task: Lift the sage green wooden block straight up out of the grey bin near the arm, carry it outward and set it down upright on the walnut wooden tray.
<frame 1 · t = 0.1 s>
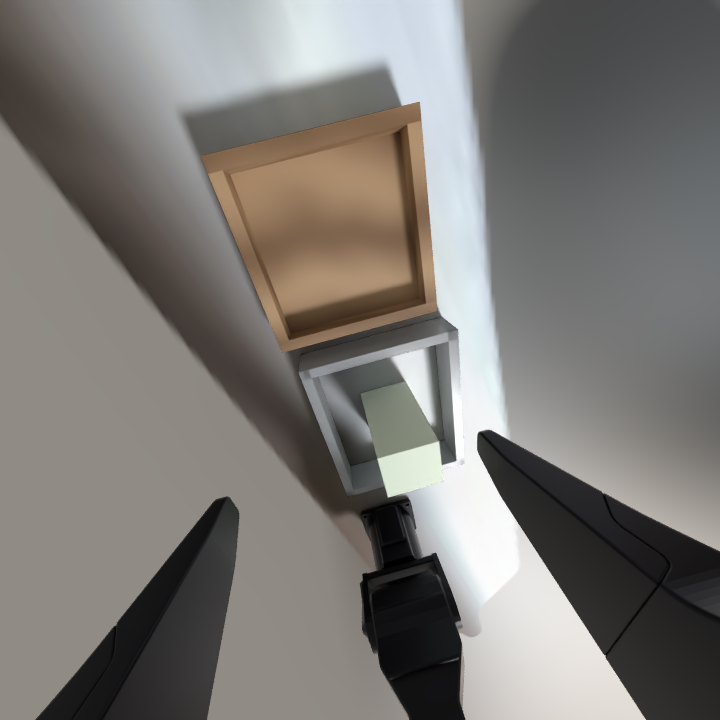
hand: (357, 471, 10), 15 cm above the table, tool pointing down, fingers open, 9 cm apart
sage block: (397, 433, 23), in the grey bin
grey bin: (386, 405, 27), on the table
wooden tray: (337, 243, 19), on the table
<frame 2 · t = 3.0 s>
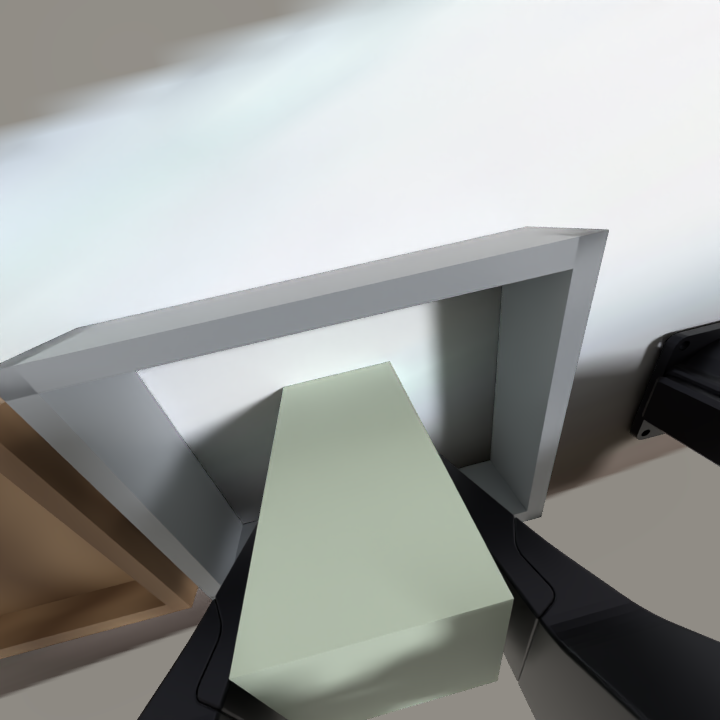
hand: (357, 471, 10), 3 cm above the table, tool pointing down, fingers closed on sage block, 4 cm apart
sage block: (361, 494, 9), in the grey bin, touching gripper
grey bin: (348, 416, 12), on the table
wooden tray: (14, 516, 12), on the table
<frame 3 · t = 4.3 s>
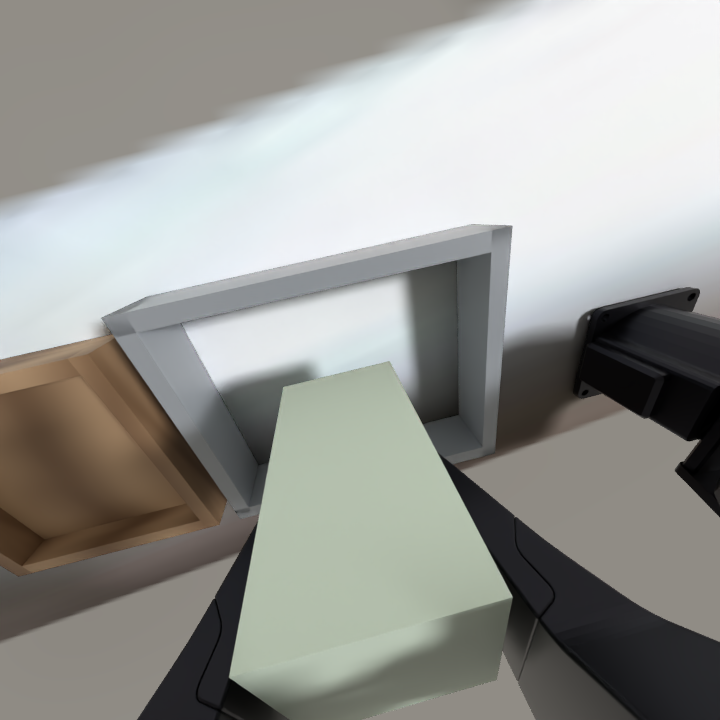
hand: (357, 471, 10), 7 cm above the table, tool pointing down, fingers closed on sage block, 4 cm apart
sage block: (361, 494, 9), point 8 cm above the table, touching gripper
grey bin: (342, 371, 16), on the table
wooden tray: (84, 449, 16), on the table
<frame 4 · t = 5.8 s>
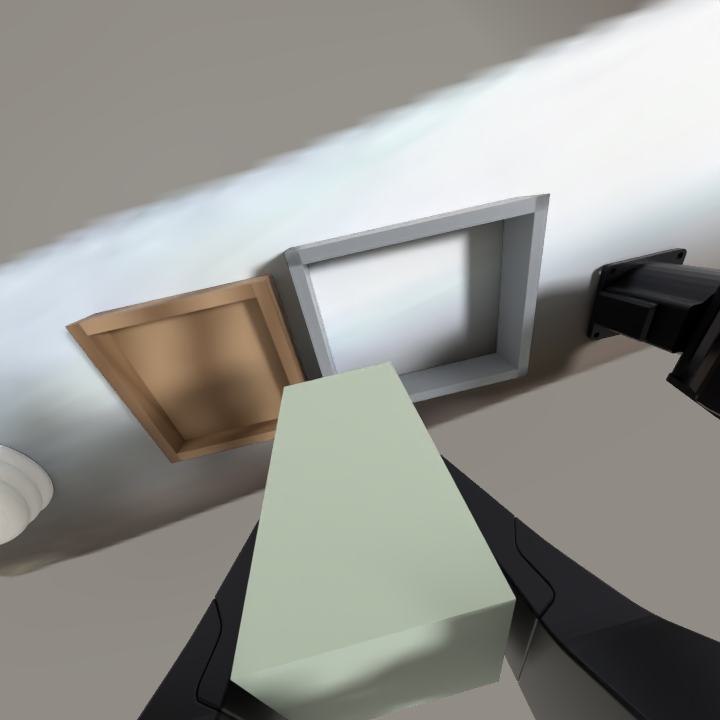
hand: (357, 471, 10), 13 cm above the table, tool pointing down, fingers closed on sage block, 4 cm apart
sage block: (362, 494, 9), point 14 cm above the table, touching gripper
grey bin: (413, 311, 21), on the table
wooden tray: (222, 368, 21), on the table
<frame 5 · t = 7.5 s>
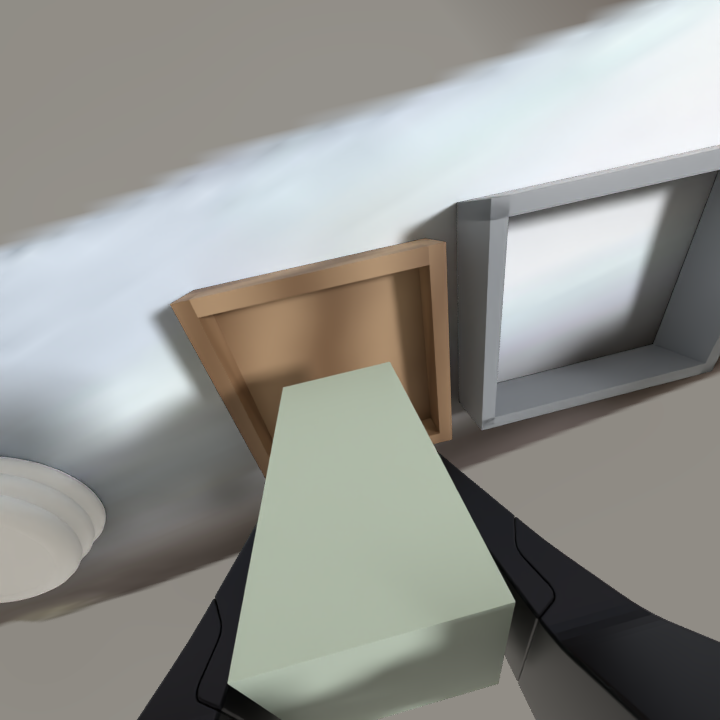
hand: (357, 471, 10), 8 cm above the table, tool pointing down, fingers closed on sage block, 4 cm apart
sage block: (361, 495, 9), point 9 cm above the table, touching gripper
grey bin: (578, 291, 17), on the table
coaster: (25, 502, 18), on the table
wooden tray: (338, 364, 17), on the table
when the fingers open (5 cm above the table, at t = 8.9 s): sage block stays where it is, resting on wooden tray.
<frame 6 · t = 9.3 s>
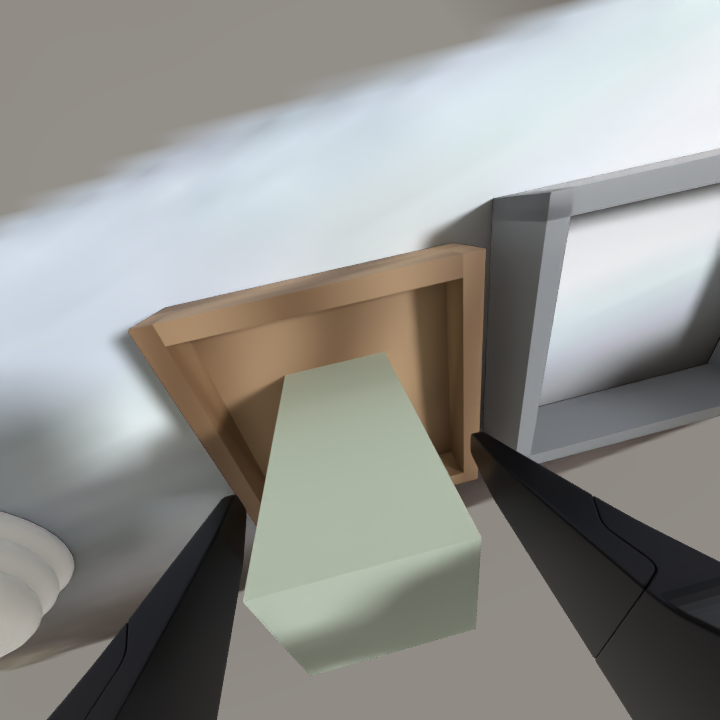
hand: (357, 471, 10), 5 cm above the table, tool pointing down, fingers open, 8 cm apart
sage block: (357, 471, 10), in the wooden tray, point 5 cm above the table
grey bin: (629, 305, 14), on the table
wooden tray: (343, 391, 14), on the table
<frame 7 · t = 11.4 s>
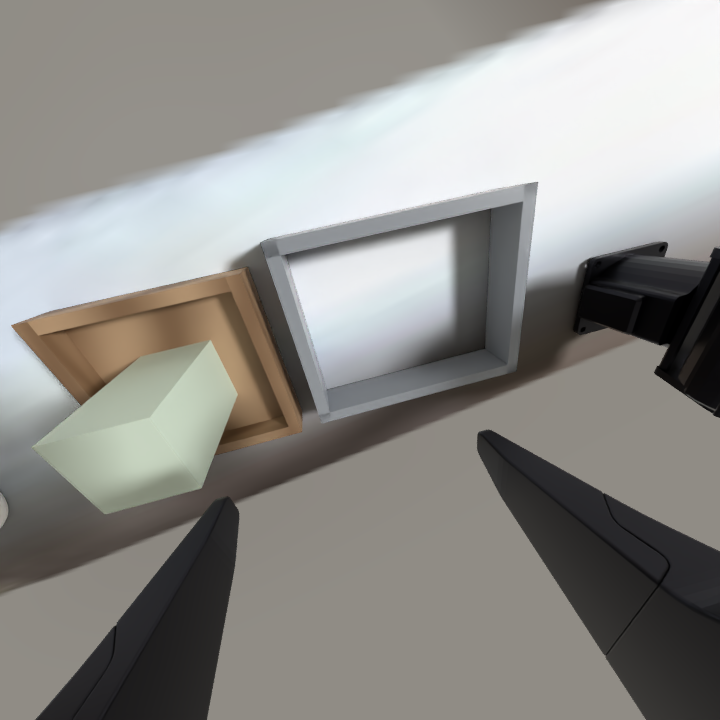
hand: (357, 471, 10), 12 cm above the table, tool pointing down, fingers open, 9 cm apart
sage block: (166, 412, 15), in the wooden tray, point 5 cm above the table
grey bin: (400, 306, 20), on the table
wooden tray: (197, 369, 20), on the table
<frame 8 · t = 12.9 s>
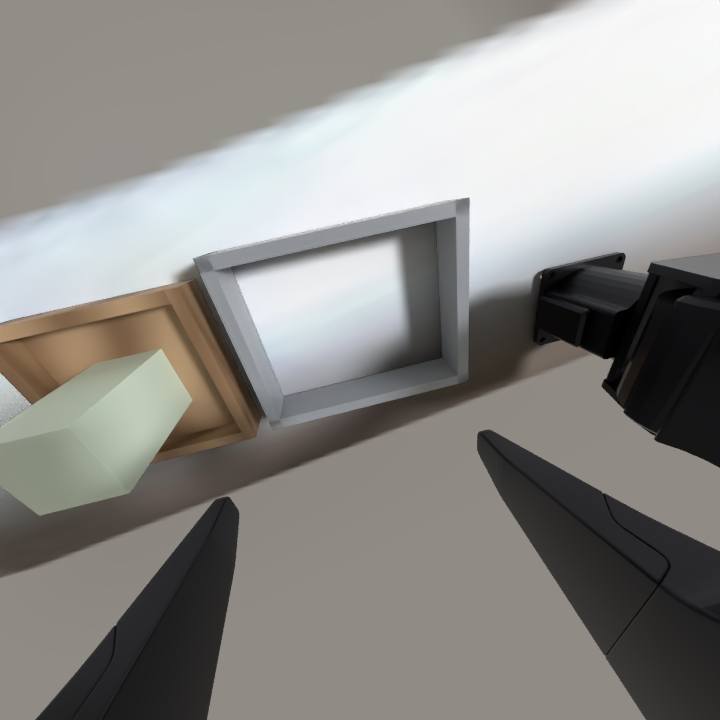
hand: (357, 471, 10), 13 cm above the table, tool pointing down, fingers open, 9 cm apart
sage block: (109, 419, 16), in the wooden tray, point 5 cm above the table
grey bin: (350, 316, 21), on the table
wooden tray: (153, 376, 20), on the table
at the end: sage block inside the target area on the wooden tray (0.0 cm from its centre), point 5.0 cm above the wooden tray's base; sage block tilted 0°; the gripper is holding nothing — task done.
